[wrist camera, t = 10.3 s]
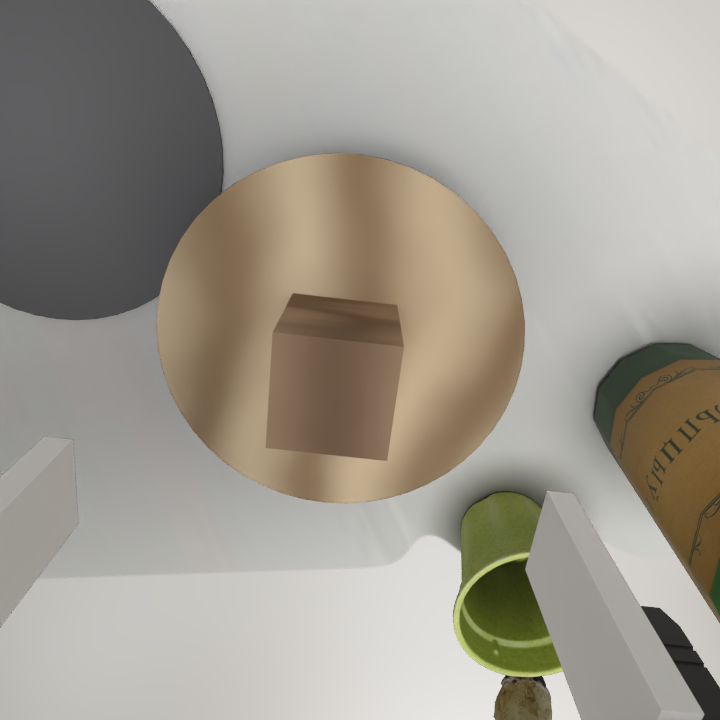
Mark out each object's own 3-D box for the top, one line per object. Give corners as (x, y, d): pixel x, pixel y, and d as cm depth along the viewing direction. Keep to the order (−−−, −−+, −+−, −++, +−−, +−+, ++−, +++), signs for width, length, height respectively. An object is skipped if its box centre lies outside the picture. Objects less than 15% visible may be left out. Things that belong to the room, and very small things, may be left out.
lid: (166, 472, 32) (112, 559, 26) (163, 130, 26) (89, 126, 19) (482, 506, 33) (511, 600, 26) (555, 177, 26) (619, 189, 20)
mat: (-99, 297, 36) (-105, 299, 36) (-164, -83, 29) (-173, -87, 29) (217, 335, 37) (215, 337, 36) (229, -30, 30) (227, -33, 29)
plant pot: (451, 461, 40) (471, 542, 32) (584, 478, 40) (638, 564, 32) (427, 568, 43) (440, 667, 35) (550, 584, 43) (591, 685, 35)
